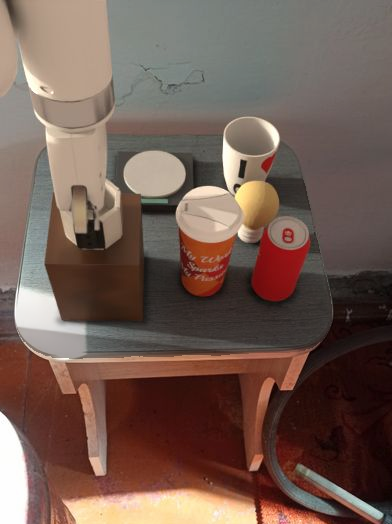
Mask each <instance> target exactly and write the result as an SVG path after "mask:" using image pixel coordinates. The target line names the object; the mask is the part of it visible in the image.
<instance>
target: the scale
mask: <svg viewBox="0 0 392 524" xmlns="http://www.w3.org/2000/svg"><path fill="white" fill-rule="evenodd" d="M116 152H117V153H116V169H115V170H116V173H115V186H116V187H118V188H119V190H120V191H121V193H124V194H141V202H142V212H170V213H171V212H173V213H174V212H175V213H176V210H177V207H178V205H179V203H180V202H181V201H182V199H183V198H184V196H185V195H186V194H187V193H188V192H190V191H191V190H193V189H195V188H194V187H195V186H194V160H193V152H173V151H172V152H168V151H167V152H166V151H164V150H163V151H162V150H146V151H128V150H126V151H125V150H124V151H123V150H117V151H116Z"/></svg>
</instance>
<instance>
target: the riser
mask: <svg viewBox="0 0 392 524" xmlns="http://www.w3.org/2000/svg"><path fill="white" fill-rule="evenodd" d="M121 201H122V212H123V235H122V236H121V238H120V239H119V240H117V241H116V242H115V243H113V244H112V245H111V246H109V247H108V248H107V249H105V248H104V249H103V250H83V249H80V248H78V247H77V246H76V245H75V244H74V243H73V242H72V241H71V240H70V239H68V238H67V237H66V235H65V231H64V227H63V223H62V218H61V214H60V210H59V208H58V207H57V204H56V199H55V193H54V191H53V192H52V194H51V204H50V212H49V220H48V230H47V238H46V247H45V252H44V253H45V255H44V262H43V264H44V267H45V271H46V274H47V277H48V281H49V284H50V287H51V290H52V293H53V296H54V299H55V303H56V307H57V309H58V312H59V316H60V320H61V321H64V322H65V321H73V322H74V321H75V322H76V321H77V322H78V321H82V322H85V321H86V322H87V321H90V322H93V321H94V322H95V321H97V322H99V321H100V322H101V321H102V322H104V321H105V322H113V321H114V322H143V321H144V283H145V281H144V279H145V278H144V276H145V272H144V271H145V250H144V248H145V247H144V229H143V227H144V225H143V224H144V223H143V211H142V202H141V194H124V193H121Z"/></svg>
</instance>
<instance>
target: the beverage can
mask: <svg viewBox="0 0 392 524" xmlns="http://www.w3.org/2000/svg"><path fill="white" fill-rule="evenodd" d="M310 246H311V238H310V232H309V229H308V227H307V225H306V224H305V223H304V221H302V220H300V219H299V218H296V217H294V216H290V215H289V216H288V215H284V216H279V217H275V218H274V219H273V220H272V221H271V222H270V223H269V224H267V225H266V227H265V228H264V230H263V234H262V237H261V239H260V243H259V247H258V250H257V256H256V260H255V263H254V268H253V272H252V277H251V287H252V288H253V290H254V292H255V293H256V294H257V295H258V296H259V297H261V299H264V300H266V301H270V302H280V301H284V300H286V299H287V298H289V297H290V296H292V295H293V293H294V291H295V288H296V286H297V282H298V280H299V277H300V274H301V272H302V270H303V266H304V263H305V261H306V257H307V255H308V253H309V250H310Z"/></svg>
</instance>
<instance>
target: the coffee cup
mask: <svg viewBox="0 0 392 524" xmlns="http://www.w3.org/2000/svg"><path fill="white" fill-rule="evenodd" d="M175 220H176V224H177V226H178V241H179V242H178V243H179V259H180V260H179V262H180V276H181V277H180V278H181V282H182V285H183V288H185V290H186V291H187V292H189V293H190V294H192V295H193V296H196V297H209V296H212V295H214V294H216V293H217V292H219V290H220V289H221V287H222V286H223V283H224V281H225V277H226V273H227V269H228V266H229V262H230V260H231V255H232V252H233V248H234V245H235V241H236V237H237V235H238V231H239V229H240V227H241V226H242V224H243V222H244V214H243V210H242V209H241V207H240V206H239V204H238V203H237V201H236V199H235V196H234V195H233V194H231V193H230V192H229V190H226V189H224V188H222V187H218V186H213V185H203V186H198V187H196V188H194V189H193V190H191V191H190V192H188V193H187V194H186V195H185V196H184V198H183V199H182V201H181V202H180V203H179V205H178V207H177V210H176V212H175Z"/></svg>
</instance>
